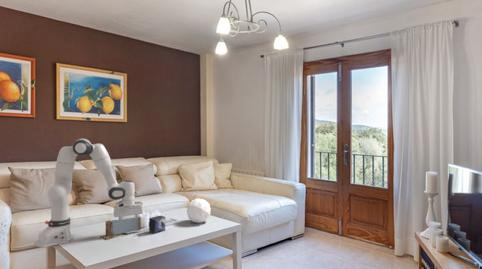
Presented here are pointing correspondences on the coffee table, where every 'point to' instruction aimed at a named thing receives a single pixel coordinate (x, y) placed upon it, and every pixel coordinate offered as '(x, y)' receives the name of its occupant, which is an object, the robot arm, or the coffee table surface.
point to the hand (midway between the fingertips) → (128, 221)
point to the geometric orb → (198, 210)
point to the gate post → (108, 231)
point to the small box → (156, 224)
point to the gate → (126, 225)
